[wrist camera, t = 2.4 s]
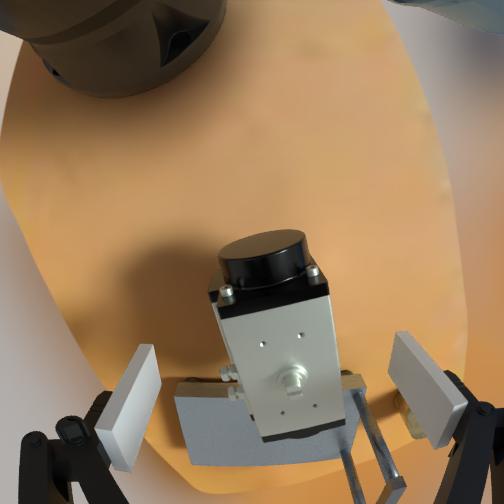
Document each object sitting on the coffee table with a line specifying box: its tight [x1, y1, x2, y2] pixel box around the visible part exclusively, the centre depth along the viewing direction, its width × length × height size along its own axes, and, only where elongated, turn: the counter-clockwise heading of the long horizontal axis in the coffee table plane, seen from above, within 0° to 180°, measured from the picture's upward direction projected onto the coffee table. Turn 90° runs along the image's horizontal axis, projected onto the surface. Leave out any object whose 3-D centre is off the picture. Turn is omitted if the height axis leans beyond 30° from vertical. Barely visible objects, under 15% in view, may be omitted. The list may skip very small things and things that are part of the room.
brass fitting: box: [394, 391, 427, 439], centre depth 26 cm, size 4×4×5 cm
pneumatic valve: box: [208, 229, 346, 443], centre depth 19 cm, size 6×12×12 cm, turn 14°
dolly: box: [174, 370, 407, 504], centre depth 21 cm, size 10×16×14 cm, turn 92°
